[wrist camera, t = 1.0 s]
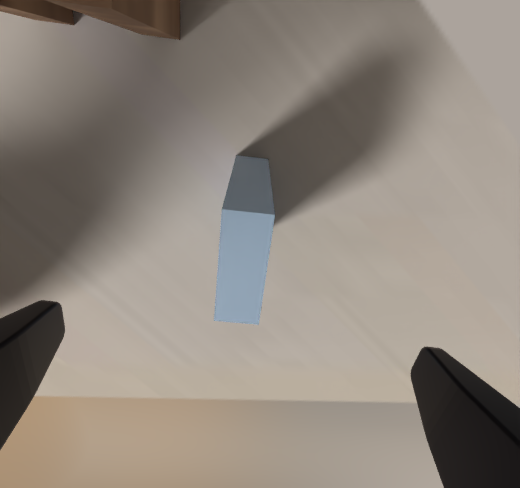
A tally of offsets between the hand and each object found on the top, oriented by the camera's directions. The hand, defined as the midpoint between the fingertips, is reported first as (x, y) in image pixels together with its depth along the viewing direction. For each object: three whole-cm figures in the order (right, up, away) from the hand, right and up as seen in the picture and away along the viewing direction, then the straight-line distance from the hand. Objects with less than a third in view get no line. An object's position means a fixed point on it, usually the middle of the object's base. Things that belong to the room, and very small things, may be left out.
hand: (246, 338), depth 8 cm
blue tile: (0, +5, +12) cm, 13 cm away
